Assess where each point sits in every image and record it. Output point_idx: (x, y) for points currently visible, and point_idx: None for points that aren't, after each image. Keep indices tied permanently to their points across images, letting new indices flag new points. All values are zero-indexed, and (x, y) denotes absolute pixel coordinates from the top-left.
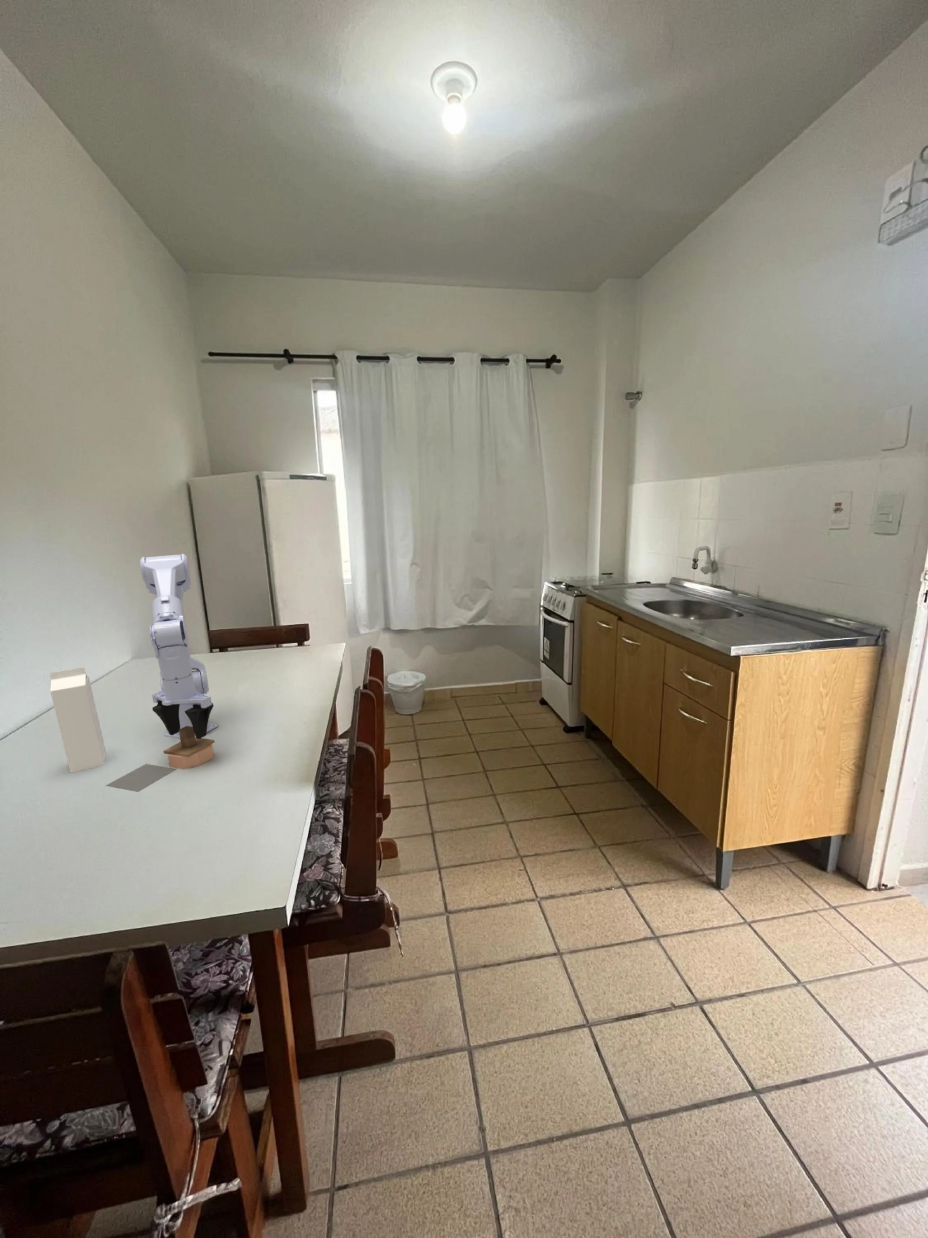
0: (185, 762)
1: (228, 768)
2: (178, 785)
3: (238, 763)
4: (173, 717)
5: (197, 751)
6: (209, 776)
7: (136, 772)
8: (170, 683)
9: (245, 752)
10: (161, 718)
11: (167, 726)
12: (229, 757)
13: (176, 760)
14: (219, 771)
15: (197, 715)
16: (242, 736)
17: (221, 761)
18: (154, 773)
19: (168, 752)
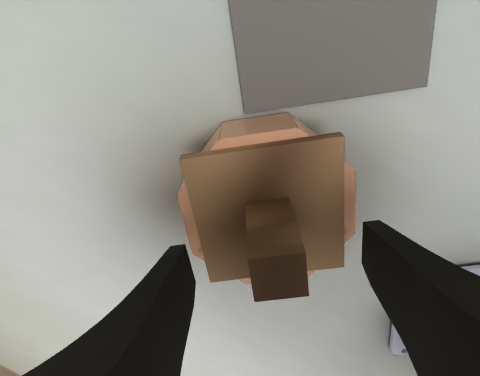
0: (211, 142)
1: (77, 198)
2: (112, 31)
3: (84, 231)
4: (414, 324)
5: (191, 202)
6: (77, 134)
7: (403, 13)
8: None
9: (140, 281)
10: (475, 282)
11: (399, 248)
12: (155, 245)
13: (247, 129)
14: (83, 172)
15: None
16: (252, 336)
17: (152, 219)
18: (304, 45)
19: (308, 139)
